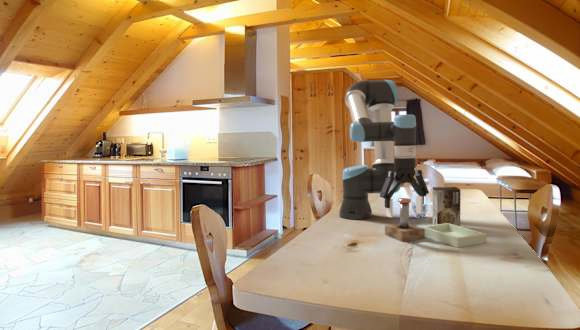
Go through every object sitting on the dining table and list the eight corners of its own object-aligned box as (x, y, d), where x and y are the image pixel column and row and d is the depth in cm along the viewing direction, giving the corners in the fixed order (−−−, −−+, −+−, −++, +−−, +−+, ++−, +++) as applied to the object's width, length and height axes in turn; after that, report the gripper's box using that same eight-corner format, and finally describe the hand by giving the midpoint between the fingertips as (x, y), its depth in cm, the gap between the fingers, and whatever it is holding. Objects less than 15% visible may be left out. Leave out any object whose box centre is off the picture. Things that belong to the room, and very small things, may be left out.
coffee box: (454, 225, 148) (455, 186, 147) (460, 229, 142) (461, 189, 141) (431, 225, 149) (432, 186, 148) (436, 229, 143) (437, 189, 141)
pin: (395, 235, 136) (395, 198, 134) (405, 234, 137) (405, 197, 136) (403, 238, 131) (403, 200, 130) (413, 237, 133) (413, 199, 132)
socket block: (384, 234, 137) (384, 225, 137) (406, 231, 141) (406, 222, 140) (402, 241, 128) (402, 232, 128) (424, 238, 132) (424, 228, 131)
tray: (421, 234, 136) (421, 226, 136) (447, 230, 141) (448, 222, 140) (457, 247, 120) (457, 238, 120) (485, 242, 125) (486, 233, 125)
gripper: (382, 159, 124) (382, 220, 125) (439, 156, 133) (438, 213, 134) (369, 158, 131) (370, 216, 132) (424, 155, 140) (424, 210, 141)
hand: (404, 215), depth 133 cm, fingers open, 13 cm apart
